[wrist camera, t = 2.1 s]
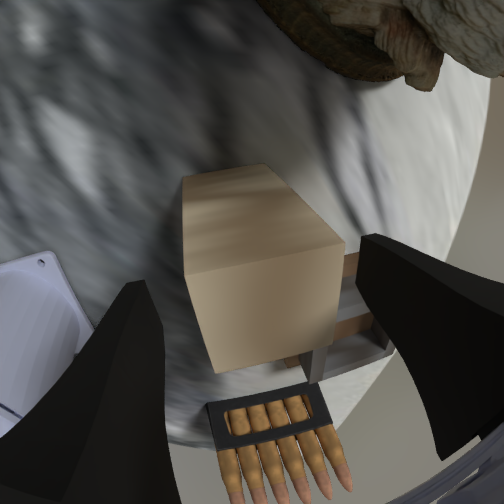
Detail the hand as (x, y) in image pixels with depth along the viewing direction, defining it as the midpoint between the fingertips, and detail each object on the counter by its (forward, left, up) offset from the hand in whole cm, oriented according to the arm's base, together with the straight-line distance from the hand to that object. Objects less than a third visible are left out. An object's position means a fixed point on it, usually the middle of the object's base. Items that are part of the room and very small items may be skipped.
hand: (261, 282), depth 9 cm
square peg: (0, 0, -6) cm, 6 cm away
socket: (+7, -9, -6) cm, 13 cm away
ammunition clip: (0, -19, -7) cm, 20 cm away
